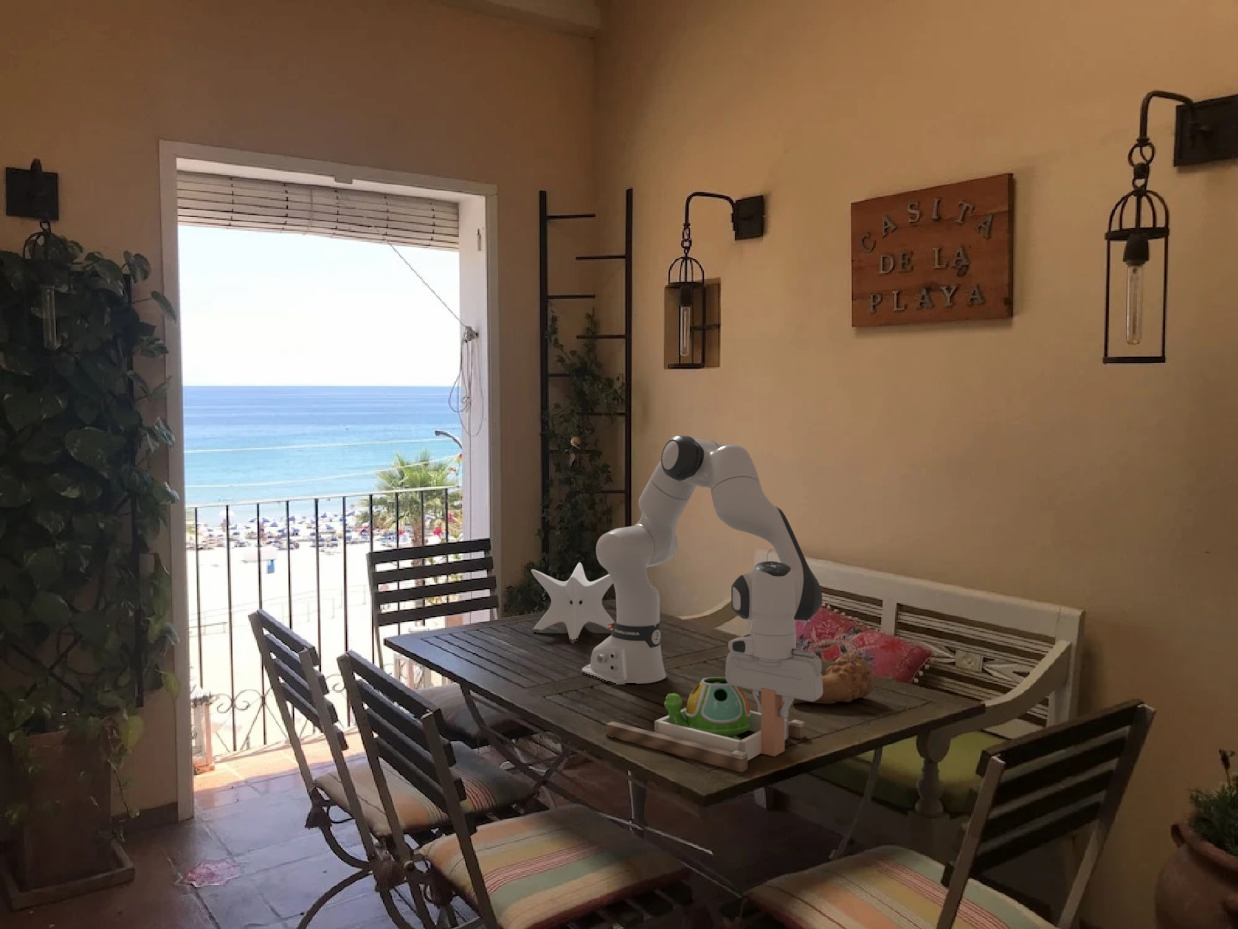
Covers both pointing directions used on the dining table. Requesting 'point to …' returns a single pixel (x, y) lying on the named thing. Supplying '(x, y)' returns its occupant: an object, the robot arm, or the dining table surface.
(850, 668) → the clay pipe
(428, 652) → the dining table surface
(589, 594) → the starfish
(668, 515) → the robot arm
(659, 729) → the sled
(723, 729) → the turtle holder
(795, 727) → the bay rails
